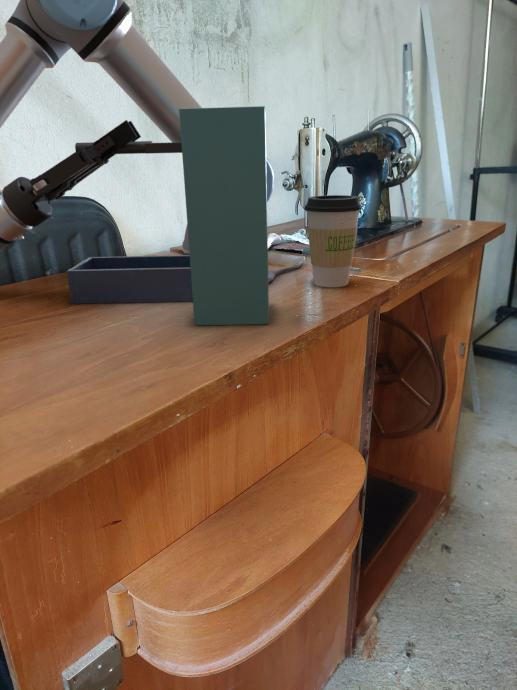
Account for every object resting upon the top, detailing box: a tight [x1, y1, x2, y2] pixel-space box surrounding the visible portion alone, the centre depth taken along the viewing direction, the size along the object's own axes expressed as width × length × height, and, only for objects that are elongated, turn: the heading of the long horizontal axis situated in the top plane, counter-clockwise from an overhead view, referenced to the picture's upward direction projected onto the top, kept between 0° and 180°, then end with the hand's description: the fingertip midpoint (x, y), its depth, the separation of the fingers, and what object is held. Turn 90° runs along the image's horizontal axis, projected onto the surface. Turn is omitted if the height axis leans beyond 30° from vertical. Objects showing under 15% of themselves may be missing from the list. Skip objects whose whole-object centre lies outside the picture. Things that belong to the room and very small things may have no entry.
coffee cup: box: [304, 194, 363, 288], centre depth 91 cm, size 10×10×15 cm
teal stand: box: [179, 105, 270, 326], centre depth 72 cm, size 10×9×28 cm
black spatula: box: [74, 140, 182, 155], centre depth 82 cm, size 18×6×2 cm, turn 89°
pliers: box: [268, 259, 303, 284], centre depth 102 cm, size 10×1×20 cm
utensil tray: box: [66, 254, 193, 305], centre depth 89 cm, size 23×11×6 cm, turn 89°
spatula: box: [268, 232, 282, 249], centre depth 121 cm, size 28×4×3 cm, turn 173°
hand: (133, 128), depth 81 cm, fingers closed on black spatula, 2 cm apart
